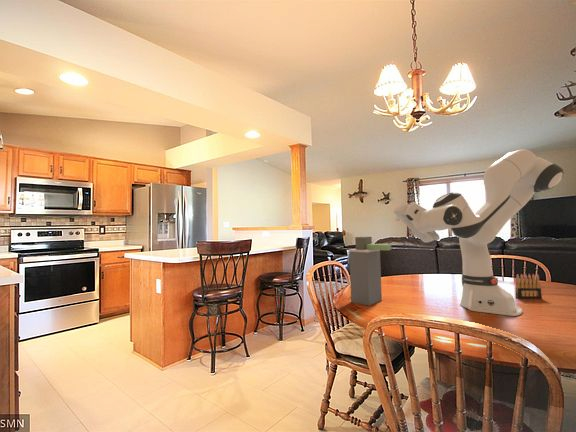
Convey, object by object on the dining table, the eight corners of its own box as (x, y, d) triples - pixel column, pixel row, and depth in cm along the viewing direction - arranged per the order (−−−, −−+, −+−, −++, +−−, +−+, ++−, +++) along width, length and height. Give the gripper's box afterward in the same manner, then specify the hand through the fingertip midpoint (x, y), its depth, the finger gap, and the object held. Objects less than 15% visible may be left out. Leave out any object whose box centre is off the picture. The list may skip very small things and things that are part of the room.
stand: (381, 300, 147) (379, 248, 148) (369, 305, 138) (367, 250, 139) (364, 297, 154) (362, 247, 155) (351, 302, 146) (349, 249, 146)
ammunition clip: (539, 298, 144) (538, 273, 144) (542, 299, 142) (540, 274, 143) (515, 297, 146) (514, 273, 146) (517, 298, 144) (516, 274, 144)
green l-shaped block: (392, 249, 140) (392, 236, 140) (385, 250, 135) (385, 237, 135) (363, 248, 152) (362, 236, 152) (355, 249, 147) (355, 237, 147)
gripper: (445, 233, 122) (423, 236, 135) (411, 199, 121) (392, 205, 134) (437, 244, 120) (416, 246, 134) (403, 210, 119) (384, 215, 132)
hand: (404, 226), depth 134 cm, fingers open, 8 cm apart
